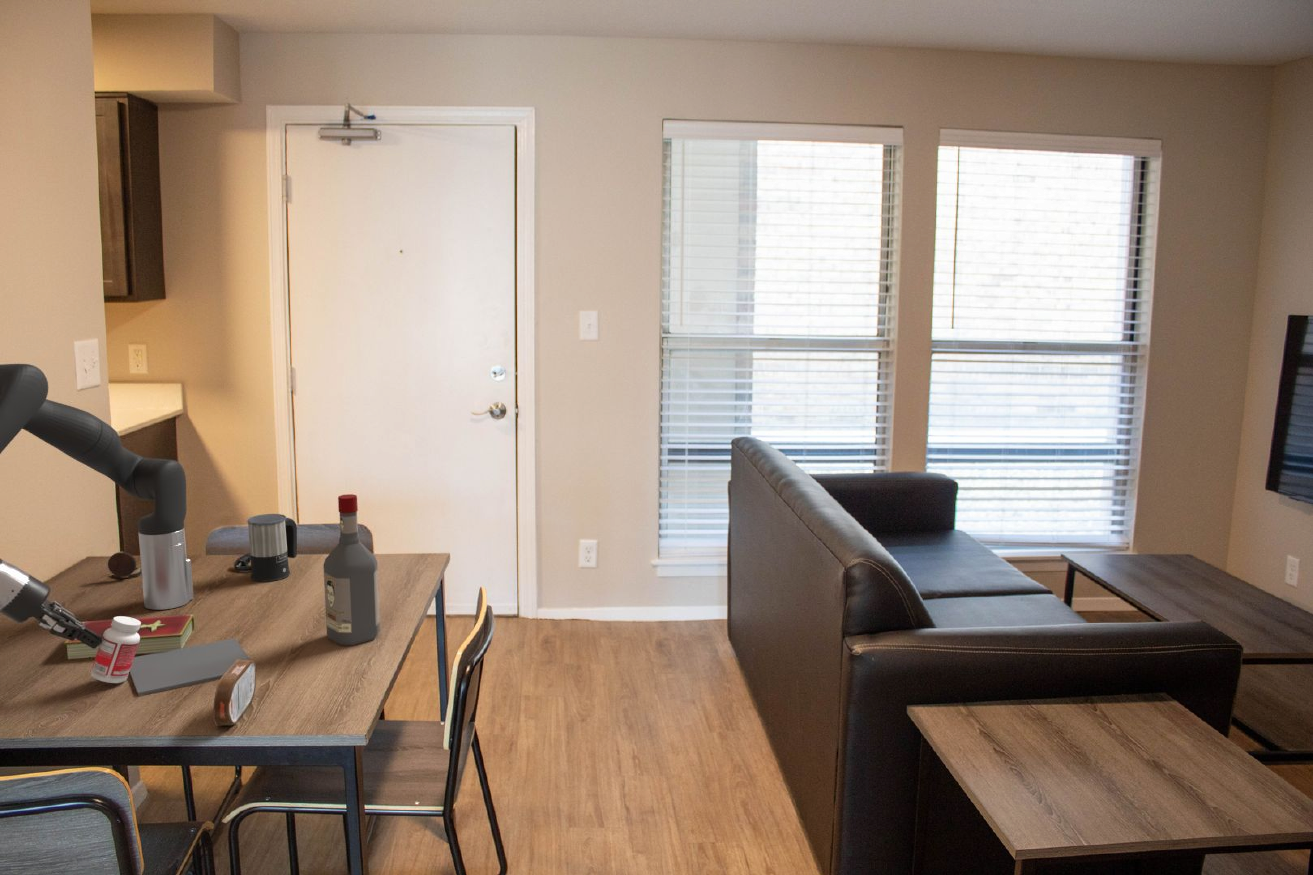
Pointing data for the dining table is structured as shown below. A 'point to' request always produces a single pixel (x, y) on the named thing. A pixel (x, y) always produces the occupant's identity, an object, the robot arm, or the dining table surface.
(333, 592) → the liquor
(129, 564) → the compass
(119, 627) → the pill bottle
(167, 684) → the mat
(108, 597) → the dining table surface
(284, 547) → the milk frother
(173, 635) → the hardcover book
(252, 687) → the tin
